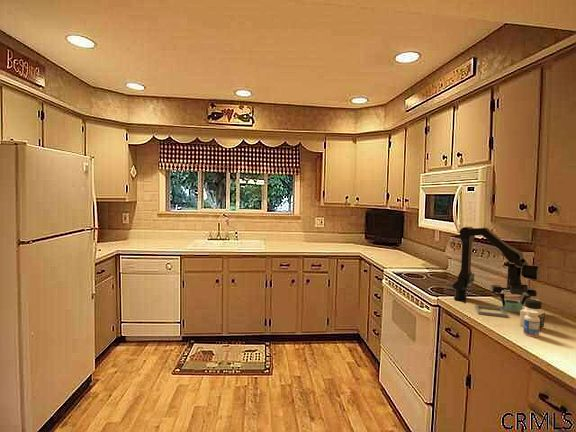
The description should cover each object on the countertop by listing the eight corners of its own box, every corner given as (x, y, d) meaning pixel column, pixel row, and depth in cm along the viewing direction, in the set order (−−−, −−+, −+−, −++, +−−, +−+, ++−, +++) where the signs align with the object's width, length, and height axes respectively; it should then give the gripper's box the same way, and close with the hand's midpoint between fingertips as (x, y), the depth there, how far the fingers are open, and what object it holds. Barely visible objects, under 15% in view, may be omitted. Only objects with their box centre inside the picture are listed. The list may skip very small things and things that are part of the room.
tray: (474, 308, 187) (474, 304, 187) (501, 311, 183) (501, 307, 183) (478, 315, 176) (478, 311, 176) (507, 319, 172) (507, 315, 172)
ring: (502, 306, 189) (502, 298, 189) (518, 308, 187) (518, 300, 186) (506, 311, 181) (506, 303, 180) (522, 313, 178) (523, 305, 178)
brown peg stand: (501, 307, 189) (501, 297, 189) (519, 309, 187) (519, 299, 187) (504, 312, 182) (505, 301, 182) (523, 314, 179) (524, 303, 179)
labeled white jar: (537, 331, 158) (539, 303, 157) (519, 325, 163) (520, 298, 163) (544, 327, 162) (546, 300, 161) (526, 322, 168) (527, 296, 167)
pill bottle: (522, 331, 157) (523, 308, 156) (537, 333, 155) (538, 310, 154) (524, 335, 152) (526, 312, 151) (540, 338, 150) (541, 314, 149)
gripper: (495, 277, 179) (493, 309, 180) (541, 281, 173) (539, 314, 174) (491, 273, 189) (489, 303, 190) (534, 276, 183) (532, 308, 184)
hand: (512, 307), depth 184 cm, fingers closed on ring, 7 cm apart
